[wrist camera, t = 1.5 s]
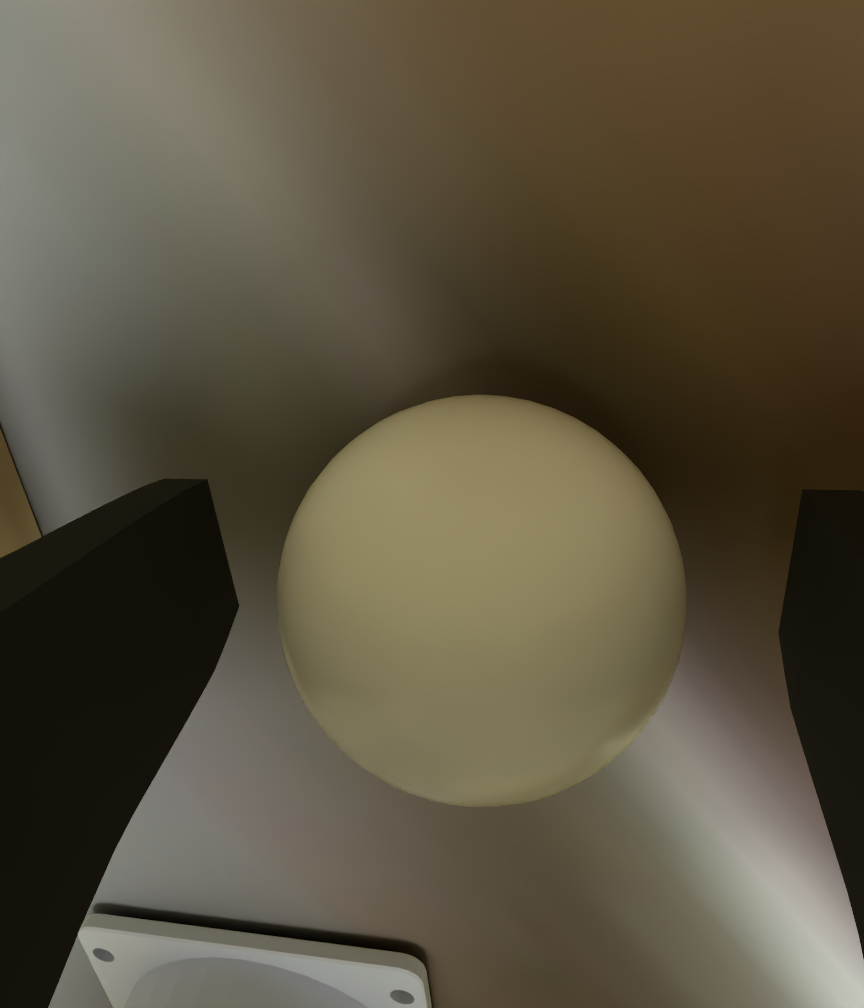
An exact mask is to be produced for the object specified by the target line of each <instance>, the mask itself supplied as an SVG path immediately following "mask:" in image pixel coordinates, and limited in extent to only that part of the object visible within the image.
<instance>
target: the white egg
mask: <svg viewBox="0 0 864 1008" xmlns="http://www.w3.org/2000/svg"><path fill="white" fill-rule="evenodd" d="M277 618H278V625H279V632H280V638H281V643H282V648H283V652H284V656H285V659H286V662H287V665H288V669H289V671H290V674H291V676H292V678H293V680H294V683H295V685H296V687H297V689H298V691H299V693H300V696H301V698H302V700H303V702H304V703H305V705H306V707H307V708H308V710H309V711H310V713H311V715H312V716H313V718H314V719H315V720H316V721H317V723H318V724H319V725H320V727H321V728H322V729H323V730H324V732H325V733H326V734H327V735H328V736H329V738H330V739H331V740H332V741H333V742H334V743H335V744H336V745H337V746H338V747H339V748H340V749H341V750H342V751H343V752H344V753H345V754H346V755H347V756H348V757H350V758H351V759H352V760H353V761H355V762H356V763H357V764H358V765H360V766H361V767H363V768H364V769H366V770H367V771H369V772H370V773H372V774H373V775H375V776H376V777H378V778H379V779H381V780H383V781H384V782H386V783H388V784H390V785H392V786H394V787H396V788H398V789H400V790H403V791H405V792H408V793H410V794H412V795H415V796H418V797H422V798H425V799H428V800H432V801H436V802H440V803H445V804H451V805H459V806H470V807H493V806H505V805H512V804H520V803H526V802H530V801H534V800H538V799H542V798H545V797H548V796H550V795H553V794H556V793H559V792H561V791H563V790H565V789H567V788H569V787H571V786H573V785H575V784H577V783H579V782H581V781H583V780H585V779H587V778H589V777H590V776H592V775H593V774H595V773H596V772H598V771H599V770H601V769H602V768H604V767H605V766H606V765H607V764H609V763H610V762H611V761H612V760H613V759H614V758H616V757H617V756H618V755H619V754H620V753H621V752H622V751H623V750H625V749H626V748H627V747H628V746H629V745H630V744H631V743H632V742H633V741H634V739H635V738H636V737H637V736H638V734H639V733H640V732H641V731H642V729H643V728H644V727H645V726H646V724H647V723H648V722H649V720H650V719H651V717H652V716H653V715H654V713H655V712H656V710H657V708H658V706H659V705H660V703H661V701H662V699H663V698H664V696H665V694H666V691H667V689H668V687H669V685H670V682H671V680H672V677H673V675H674V672H675V669H676V666H677V664H678V661H679V657H680V652H681V647H682V642H683V637H684V631H685V626H686V578H685V572H684V566H683V560H682V556H681V552H680V548H679V544H678V541H677V538H676V535H675V532H674V529H673V526H672V523H671V521H670V519H669V517H668V515H667V513H666V511H665V509H664V508H663V506H662V504H661V502H660V500H659V498H658V496H657V495H656V493H655V491H654V489H653V488H652V486H651V485H650V484H649V482H648V481H647V479H646V478H645V477H644V475H643V474H642V473H641V471H640V470H639V469H638V468H637V467H636V466H635V465H634V464H633V463H632V461H631V460H630V459H629V458H628V457H627V456H626V455H625V454H624V453H623V452H622V451H621V450H620V449H619V448H617V447H616V446H615V445H614V444H613V443H612V442H610V441H609V440H608V439H606V438H605V437H604V436H603V435H601V434H600V433H599V432H598V431H596V430H595V429H593V428H591V427H590V426H588V425H586V424H585V423H583V422H581V421H580V420H578V419H576V418H575V417H572V416H570V415H568V414H566V413H563V412H561V411H559V410H557V409H554V408H552V407H549V406H545V405H542V404H539V403H535V402H532V401H529V400H523V399H518V398H512V397H507V396H495V395H466V396H453V397H448V398H443V399H438V400H433V401H429V402H426V403H423V404H420V405H417V406H414V407H411V408H408V409H405V410H402V411H400V412H398V413H396V414H394V415H392V416H390V417H387V418H385V419H383V420H381V421H379V422H378V423H376V424H375V425H373V426H372V427H370V428H369V429H367V430H366V431H364V432H363V433H361V434H360V435H359V436H357V437H356V438H355V439H354V440H352V441H351V442H350V443H349V444H347V445H346V446H345V447H344V448H343V449H342V450H341V451H340V452H339V453H338V454H337V455H336V456H334V457H333V458H332V460H331V461H330V462H329V463H328V465H327V466H326V467H325V468H324V470H323V471H322V472H321V473H320V475H319V476H318V477H317V479H316V480H315V481H314V482H313V484H312V485H311V486H310V488H309V489H308V491H307V493H306V495H305V497H304V498H303V500H302V502H301V504H300V506H299V508H298V510H297V512H296V514H295V516H294V518H293V520H292V523H291V526H290V529H289V531H288V534H287V537H286V540H285V543H284V548H283V552H282V557H281V562H280V568H279V573H278V586H277Z"/></svg>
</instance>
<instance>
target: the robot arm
mask: <svg viewBox="0 0 864 1008" xmlns="http://www.w3.org/2000/svg"><path fill="white" fill-rule="evenodd" d="M238 608H239V604H238V600H237V596H236V592H235V588H234V584H233V580H232V576H231V572H230V568H229V564H228V560H227V556H226V552H225V548H224V544H223V540H222V536H221V532H220V528H219V524H218V520H217V516H216V512H215V508H214V504H213V500H212V496H211V492H210V488H209V484H208V480H207V479H162V480H159V481H157V482H154V483H151V484H148V485H146V486H144V487H141V488H139V489H137V490H135V491H132V492H130V493H128V494H126V495H124V496H122V497H120V498H117V499H115V500H113V501H111V502H109V503H107V504H105V505H103V506H101V507H99V508H97V509H95V510H93V511H92V512H90V513H88V514H86V515H84V516H82V517H80V518H78V519H76V520H74V521H72V522H70V523H68V524H66V525H64V526H62V527H60V528H58V529H56V530H55V531H53V532H51V533H49V534H47V535H45V536H43V537H41V538H39V539H37V540H35V541H33V542H31V543H29V544H27V545H25V546H23V547H22V548H20V549H18V550H16V551H14V552H11V553H9V554H7V555H5V556H3V557H1V558H0V1008H48V1006H49V1004H50V1001H51V999H52V996H53V994H54V991H55V989H56V987H57V984H58V982H59V979H60V977H61V974H62V972H63V969H64V967H65V964H66V962H67V959H68V957H69V954H70V952H71V950H72V947H73V945H74V942H75V940H76V937H77V935H78V937H79V940H80V942H81V944H82V946H83V948H84V950H85V952H86V954H87V956H88V958H89V960H90V962H91V964H92V966H93V968H94V970H95V972H96V974H97V976H98V978H99V980H100V982H101V984H102V986H103V988H104V990H105V992H106V994H107V996H108V998H109V1000H110V1002H111V1004H112V1006H113V1008H432V1005H431V998H430V992H429V985H428V978H427V971H426V969H425V966H424V965H423V963H422V962H421V961H420V960H418V959H417V958H416V957H414V956H412V955H409V954H405V953H401V952H393V951H385V950H377V949H370V948H362V947H354V946H347V945H339V944H331V943H323V942H316V941H308V940H300V939H293V938H285V937H277V936H270V935H262V934H254V933H246V932H239V931H231V930H223V929H216V928H208V927H200V926H192V925H185V924H177V923H169V922H162V921H154V920H146V919H138V918H131V917H123V916H115V915H108V914H91V915H89V916H87V917H86V919H85V920H84V918H85V916H86V914H87V911H88V909H89V907H90V905H91V902H92V900H93V898H94V895H95V893H96V891H97V889H98V886H99V884H100V882H101V880H102V877H103V875H104V873H105V871H106V868H107V866H108V864H109V861H110V859H111V857H112V855H113V852H114V850H115V848H116V846H117V844H118V842H119V841H120V839H121V837H122V835H123V833H124V831H125V829H126V827H127V825H128V823H129V821H130V819H131V817H132V815H133V814H134V812H135V810H136V808H137V807H138V805H139V803H140V801H141V800H142V798H143V796H144V794H145V793H146V791H147V789H148V787H149V786H150V784H151V782H152V781H153V779H154V777H155V775H156V774H157V772H158V770H159V768H160V767H161V765H162V763H163V761H164V760H165V758H166V756H167V754H168V753H169V751H170V749H171V747H172V746H173V744H174V742H175V740H176V739H177V737H178V735H179V733H180V732H181V730H182V728H183V726H184V725H185V723H186V721H187V719H188V718H189V716H190V714H191V712H192V710H193V709H194V707H195V705H196V703H197V701H198V700H199V698H200V696H201V694H202V693H203V691H204V689H205V687H206V685H207V683H208V682H209V680H210V678H211V676H212V674H213V672H214V670H215V668H216V665H217V663H218V661H219V658H220V656H221V653H222V651H223V648H224V646H225V643H226V641H227V638H228V635H229V633H230V630H231V627H232V624H233V622H234V619H235V616H236V613H237V611H238ZM779 638H780V645H781V652H782V658H783V665H784V672H785V678H786V683H787V689H788V695H789V701H790V706H791V711H792V714H793V717H794V721H795V724H796V728H797V731H798V734H799V737H800V741H801V744H802V747H803V751H804V754H805V757H806V760H807V764H808V767H809V770H810V773H811V777H812V780H813V783H814V786H815V789H816V793H817V796H818V799H819V802H820V805H821V809H822V812H823V815H824V818H825V821H826V825H827V828H828V831H829V834H830V837H831V841H832V844H833V847H834V850H835V853H836V857H837V860H838V863H839V866H840V869H841V873H842V876H843V879H844V882H845V885H846V889H847V892H848V896H849V900H850V903H851V907H852V911H853V915H854V918H855V922H856V926H857V930H858V934H859V938H860V943H861V948H862V953H863V958H864V492H863V491H855V490H802V495H801V501H800V507H799V513H798V519H797V525H796V531H795V537H794V543H793V549H792V555H791V561H790V567H789V573H788V579H787V585H786V591H785V597H784V603H783V609H782V615H781V621H780V627H779ZM83 920H84V922H83ZM82 923H83V924H82ZM81 925H82V926H81Z"/></svg>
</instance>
